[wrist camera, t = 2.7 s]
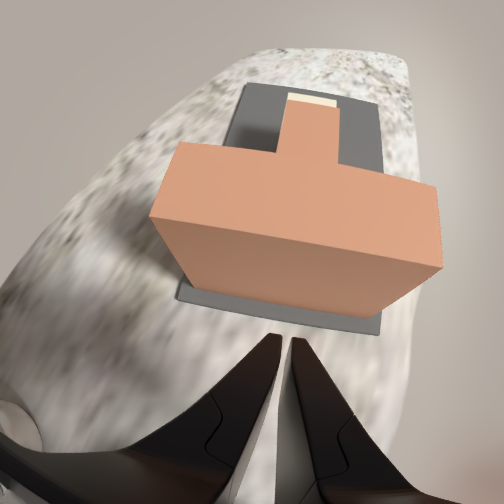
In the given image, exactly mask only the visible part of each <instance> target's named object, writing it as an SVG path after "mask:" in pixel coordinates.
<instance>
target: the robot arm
mask: <svg viewBox="0 0 504 504" xmlns="http://www.w3.org/2000/svg"><path fill="white" fill-rule="evenodd" d="M281 349H282V335H279V334H274V333H268V334H267V335H266V336H265V337H264V338H263V339H262V340H261V341H260V342H259V343H258V344H257V345H256V346H255V347H254V348H253V349H252V350H251V351H250V352H249V353H248V354H247V355H246V356H245V357H244V358H243V359H242V360H241V361H240V362H239V363H238V364H237V365H236V366H235V367H233V368H232V369H231V370H230V371H229V372H228V373H227V374H226V375H225V376H224V377H223V378H222V379H221V380H220V381H219V382H218V383H217V384H216V385H214V386H213V387H212V388H211V389H210V390H209V391H208V392H207V393H206V394H205V395H203V396H202V397H201V398H200V399H199V400H198V401H197V402H196V403H194V404H193V405H192V406H191V407H190V408H188V409H187V410H186V411H184V412H183V413H182V414H180V415H179V416H177V417H176V418H174V419H173V420H171V421H170V422H168V423H167V424H165V425H164V426H162V427H160V428H159V429H157V430H156V431H154V432H152V433H151V434H149V435H148V436H146V437H144V438H143V439H141V440H139V441H138V442H136V443H134V444H132V445H130V446H128V447H126V448H123V449H120V450H116V451H108V452H88V453H47V452H39V451H35V450H31V449H28V448H25V447H23V446H21V445H19V444H18V443H16V442H15V441H13V440H12V439H10V438H9V437H8V436H6V435H5V434H3V433H2V432H0V483H1V484H2V485H3V486H4V487H6V488H7V489H8V490H7V491H6V493H5V494H4V496H3V497H2V499H1V500H0V504H233V502H234V500H235V497H236V495H237V492H238V489H239V487H240V484H241V482H242V479H243V477H244V474H245V471H246V469H247V466H248V463H249V461H250V458H251V455H252V453H253V450H254V447H255V444H256V442H257V439H258V436H259V433H260V430H261V428H262V425H263V422H264V419H265V416H266V413H267V410H268V407H269V403H270V399H271V395H272V391H273V388H274V384H275V380H276V376H277V372H278V368H279V364H280V359H281ZM275 504H460V503H456V502H452V501H449V500H444V499H441V498H438V497H434V496H431V495H427V494H425V493H423V492H420V491H419V490H417V489H416V488H415V487H413V486H412V485H411V484H410V483H409V482H408V481H407V480H406V479H405V478H404V477H403V475H402V474H401V473H400V472H399V471H398V470H397V469H396V467H395V466H394V465H393V464H392V463H391V462H390V460H389V459H388V458H387V457H386V456H385V455H384V453H383V452H382V451H381V450H380V449H379V447H378V446H377V445H376V444H375V442H374V441H373V440H372V439H371V437H370V436H369V435H368V433H367V432H366V430H365V429H364V428H363V426H362V425H361V423H360V422H359V420H358V419H357V417H356V416H355V415H354V413H353V411H352V410H351V408H350V406H349V405H348V403H347V402H346V400H345V399H344V397H343V396H342V394H341V393H340V391H339V390H338V388H337V386H336V385H335V383H334V382H333V380H332V379H331V377H330V376H329V374H328V373H327V371H326V369H325V368H324V366H323V365H322V363H321V362H320V360H319V359H318V357H317V356H316V354H315V352H314V351H313V349H312V348H311V346H310V345H309V343H308V342H307V340H306V339H304V338H297V337H292V338H291V341H290V345H289V349H288V353H287V357H286V361H285V367H284V374H283V380H282V386H281V393H280V399H279V406H278V431H277V461H276V486H275Z"/></svg>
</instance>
